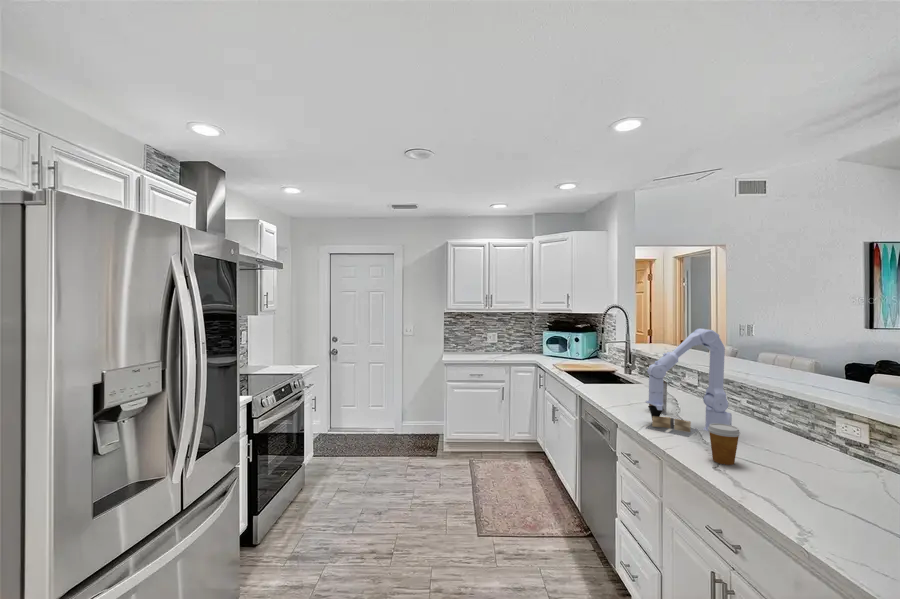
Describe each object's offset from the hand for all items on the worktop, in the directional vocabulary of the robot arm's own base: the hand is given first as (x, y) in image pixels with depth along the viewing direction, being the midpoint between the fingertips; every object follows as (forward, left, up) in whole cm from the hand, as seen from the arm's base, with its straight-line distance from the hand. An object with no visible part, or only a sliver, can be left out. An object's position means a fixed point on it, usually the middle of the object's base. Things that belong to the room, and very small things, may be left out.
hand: (655, 422), depth 187 cm
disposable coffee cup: (-30, +26, -2) cm, 40 cm away
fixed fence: (-10, -2, -2) cm, 11 cm away
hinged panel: (-3, 0, -1) cm, 3 cm away
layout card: (-6, -1, -2) cm, 7 cm away
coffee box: (+8, -30, -2) cm, 31 cm away
